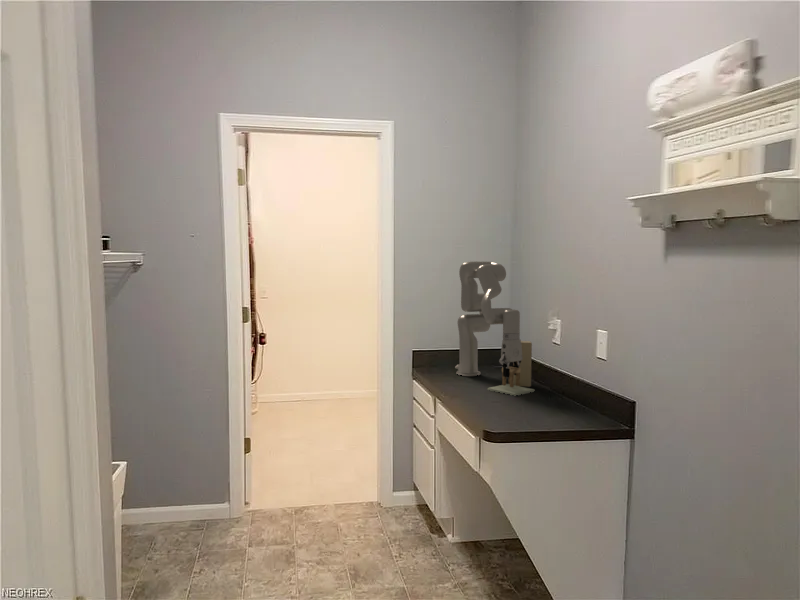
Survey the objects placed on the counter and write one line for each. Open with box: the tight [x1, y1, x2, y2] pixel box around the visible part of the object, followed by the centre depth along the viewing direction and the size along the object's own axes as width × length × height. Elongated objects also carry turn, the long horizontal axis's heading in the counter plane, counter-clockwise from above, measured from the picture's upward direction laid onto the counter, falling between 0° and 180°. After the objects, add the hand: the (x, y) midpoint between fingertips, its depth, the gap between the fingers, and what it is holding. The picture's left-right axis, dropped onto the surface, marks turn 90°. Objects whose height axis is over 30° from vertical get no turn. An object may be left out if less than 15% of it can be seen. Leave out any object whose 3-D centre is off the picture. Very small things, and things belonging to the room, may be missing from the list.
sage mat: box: [487, 383, 535, 397], centre depth 267 cm, size 16×14×1 cm
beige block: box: [512, 340, 533, 388], centre depth 279 cm, size 8×7×21 cm
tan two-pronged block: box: [501, 365, 521, 387], centre depth 267 cm, size 6×6×8 cm
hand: (511, 375), depth 267 cm, fingers closed on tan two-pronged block, 6 cm apart
